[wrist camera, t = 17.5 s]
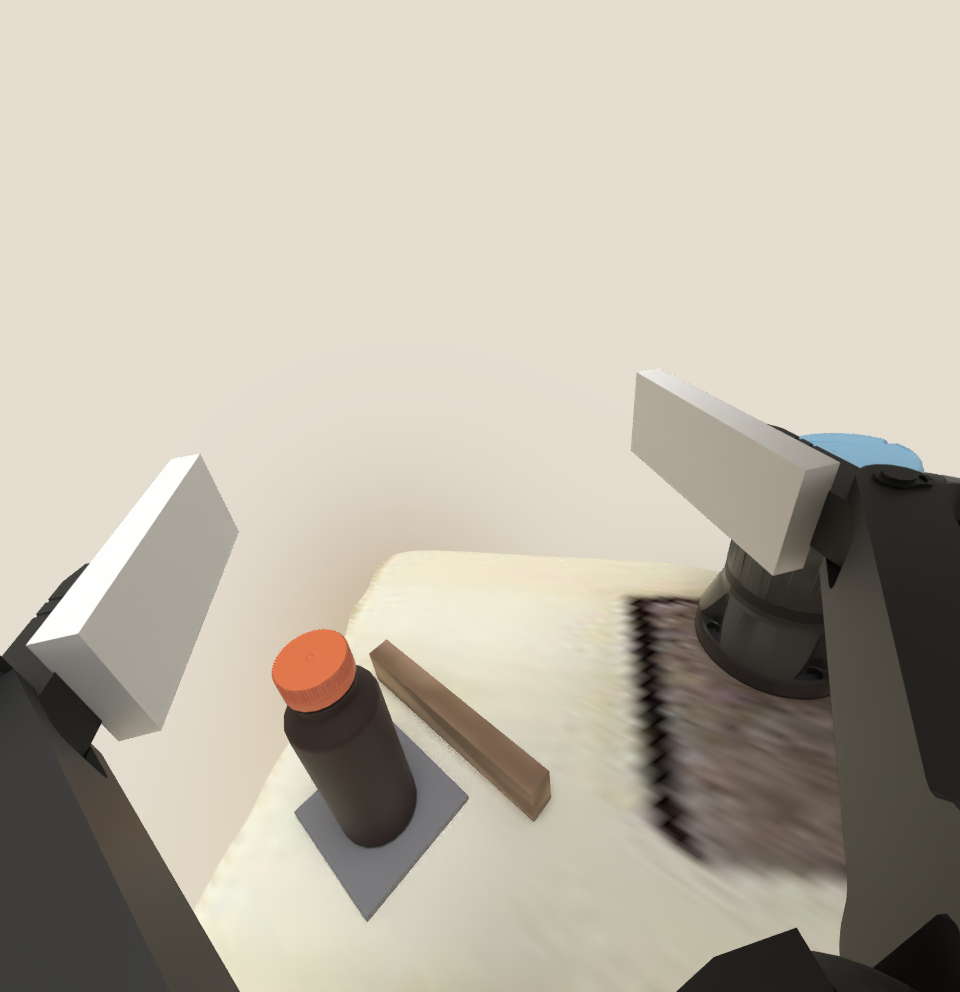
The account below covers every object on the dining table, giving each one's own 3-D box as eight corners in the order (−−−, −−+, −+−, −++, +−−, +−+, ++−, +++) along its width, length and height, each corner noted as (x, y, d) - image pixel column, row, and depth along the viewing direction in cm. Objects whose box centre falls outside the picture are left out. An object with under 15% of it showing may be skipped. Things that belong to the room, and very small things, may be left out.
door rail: (395, 665, 54) (386, 639, 51) (550, 797, 40) (549, 771, 38) (378, 679, 52) (369, 653, 50) (534, 821, 39) (531, 795, 36)
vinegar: (433, 798, 41) (383, 649, 30) (372, 870, 37) (288, 728, 26) (386, 750, 45) (326, 603, 34) (326, 810, 41) (237, 666, 30)
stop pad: (392, 723, 48) (391, 720, 47) (468, 798, 41) (467, 795, 41) (296, 815, 41) (293, 812, 41) (367, 921, 35) (365, 919, 34)
